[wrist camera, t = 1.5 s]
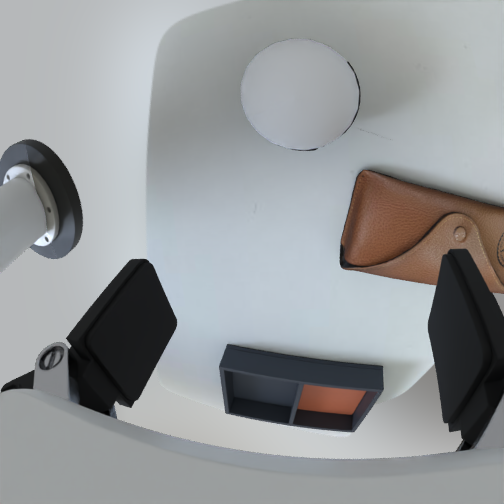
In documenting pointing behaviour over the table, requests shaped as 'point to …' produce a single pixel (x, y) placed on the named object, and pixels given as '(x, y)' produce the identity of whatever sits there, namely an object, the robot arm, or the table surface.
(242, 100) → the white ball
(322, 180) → the table surface
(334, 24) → the table surface
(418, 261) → the sunglasses case
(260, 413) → the tray
